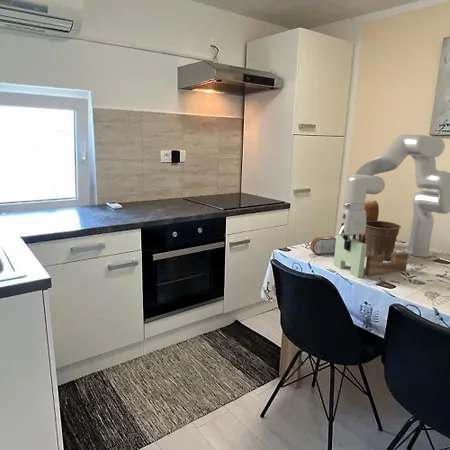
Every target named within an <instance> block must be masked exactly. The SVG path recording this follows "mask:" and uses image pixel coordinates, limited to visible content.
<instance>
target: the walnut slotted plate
mask: <svg viewBox="0 0 450 450" xmlns="http://www.w3.org/2000/svg"><path fill="white" fill-rule="evenodd" d="M408 258H409V254H408V253H406V252H404V251H400V252H393V253H392V255H391V259H390V261H389V262H385V260H384V256H383V255H380V254H379V255H369V256H366V261H365V267H364V274H365V275H366V276H368V277H372V276H378V275H386V274H395V273H401V272H402V273H403V272H406V271H407V266H408V265H407V264H408Z"/></svg>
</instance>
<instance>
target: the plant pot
mask: <svg viewBox="0 0 450 450" xmlns="http://www.w3.org/2000/svg"><path fill="white" fill-rule="evenodd" d="M401 228H402V226H401V225H400V224H397V223H395V222H392V221H391V222H390V221H383V220H377V221H366V231H365V244H367V246H366V254H365V257H367V256H369V255H379V254H380V255H383V256H384V261H391V255H392V253H394V250H395V245H396V240H397V237H398V235H399V232H400V229H401Z"/></svg>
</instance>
